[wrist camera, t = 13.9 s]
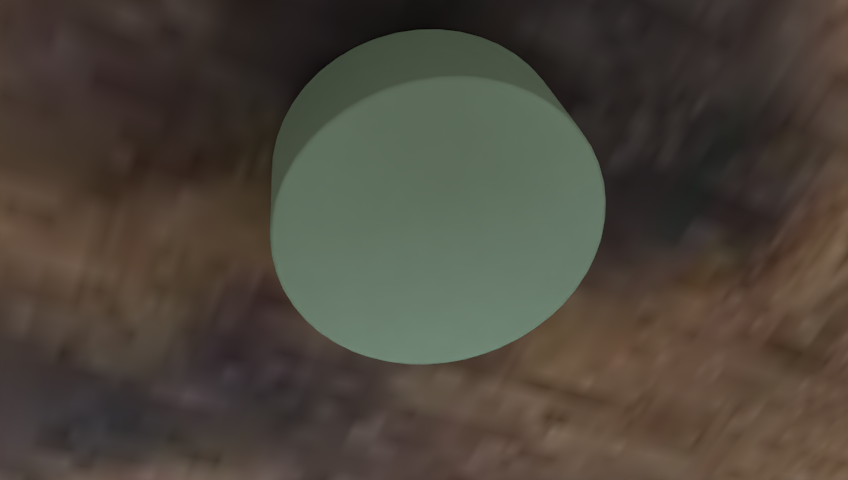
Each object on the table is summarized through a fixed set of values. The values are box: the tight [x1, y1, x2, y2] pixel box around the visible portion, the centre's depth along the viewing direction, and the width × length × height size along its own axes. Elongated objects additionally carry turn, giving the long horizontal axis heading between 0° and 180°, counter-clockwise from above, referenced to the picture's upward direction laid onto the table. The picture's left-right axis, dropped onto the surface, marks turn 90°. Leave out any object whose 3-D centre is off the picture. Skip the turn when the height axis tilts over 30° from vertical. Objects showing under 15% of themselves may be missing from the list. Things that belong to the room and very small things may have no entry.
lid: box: [270, 29, 606, 364], centre depth 15 cm, size 6×6×2 cm
